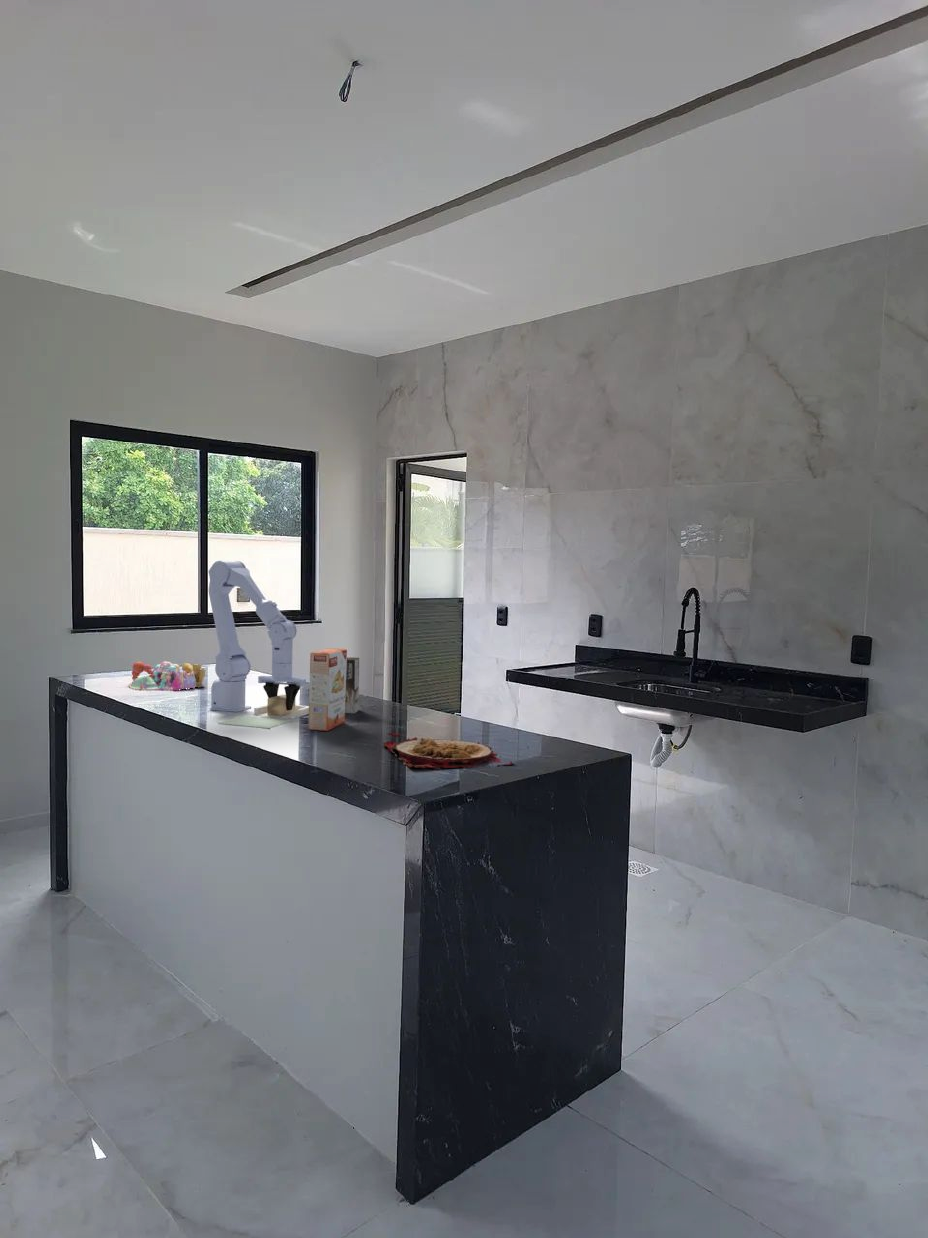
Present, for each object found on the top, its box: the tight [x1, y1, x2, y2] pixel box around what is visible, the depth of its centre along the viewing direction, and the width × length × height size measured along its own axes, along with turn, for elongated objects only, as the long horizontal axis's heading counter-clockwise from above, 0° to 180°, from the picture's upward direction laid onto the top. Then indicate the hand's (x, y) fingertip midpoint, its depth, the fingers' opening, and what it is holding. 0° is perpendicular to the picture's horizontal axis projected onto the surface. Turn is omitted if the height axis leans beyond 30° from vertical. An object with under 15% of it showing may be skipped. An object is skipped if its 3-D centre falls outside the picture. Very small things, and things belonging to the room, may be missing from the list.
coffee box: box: [345, 656, 360, 714], centre depth 262 cm, size 9×6×16 cm
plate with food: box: [381, 732, 515, 770], centre depth 208 cm, size 25×26×4 cm
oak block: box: [266, 694, 296, 718], centre depth 254 cm, size 4×8×5 cm, turn 162°
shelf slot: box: [253, 703, 309, 720], centre depth 255 cm, size 13×11×2 cm
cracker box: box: [307, 648, 348, 732], centre depth 238 cm, size 14×6×21 cm, turn 168°
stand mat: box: [217, 715, 293, 730], centre depth 241 cm, size 16×12×1 cm
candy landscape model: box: [128, 660, 206, 691], centre depth 302 cm, size 25×24×9 cm
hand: (281, 709), depth 254 cm, fingers closed on oak block, 4 cm apart
